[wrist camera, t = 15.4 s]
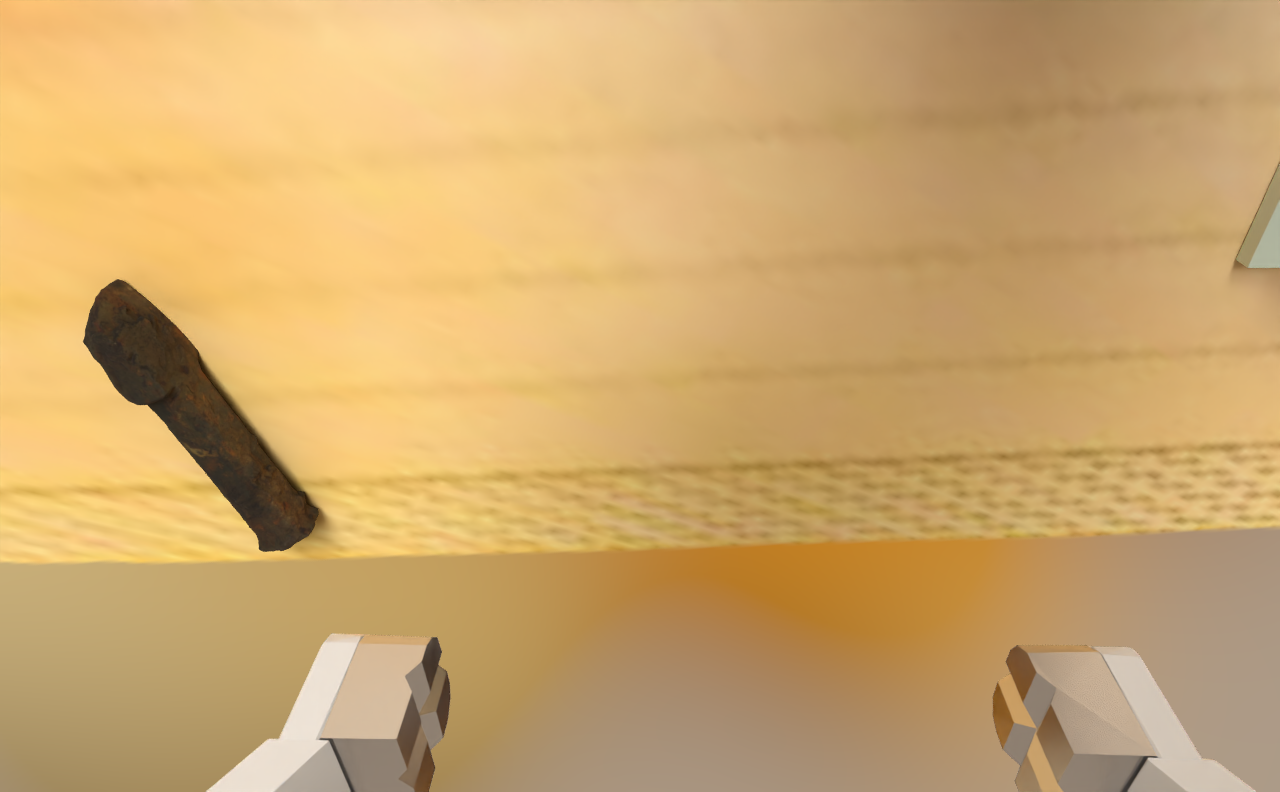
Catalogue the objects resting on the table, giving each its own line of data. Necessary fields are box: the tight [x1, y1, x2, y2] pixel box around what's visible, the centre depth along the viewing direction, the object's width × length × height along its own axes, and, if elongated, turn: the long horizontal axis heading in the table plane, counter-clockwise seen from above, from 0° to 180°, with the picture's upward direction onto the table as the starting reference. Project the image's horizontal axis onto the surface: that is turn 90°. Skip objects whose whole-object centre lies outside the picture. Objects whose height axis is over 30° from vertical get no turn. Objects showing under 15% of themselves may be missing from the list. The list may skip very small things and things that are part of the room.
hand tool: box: [83, 279, 318, 552], centre depth 46 cm, size 19×4×5 cm, turn 16°
